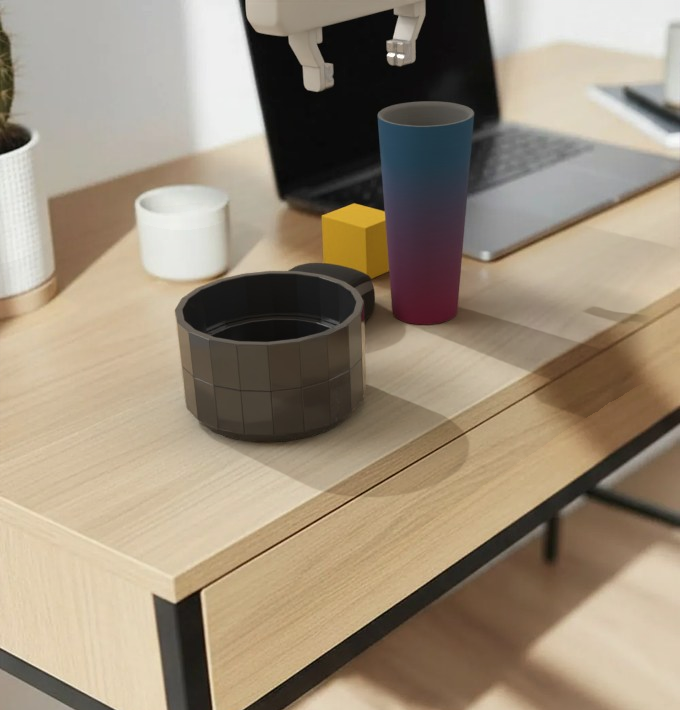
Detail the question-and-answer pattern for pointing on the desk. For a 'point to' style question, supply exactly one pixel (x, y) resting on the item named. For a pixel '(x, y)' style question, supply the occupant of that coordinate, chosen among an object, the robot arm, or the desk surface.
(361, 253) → the cube
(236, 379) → the bowl
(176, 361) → the desk surface
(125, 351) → the desk surface
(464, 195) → the cup
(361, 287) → the computer mouse
